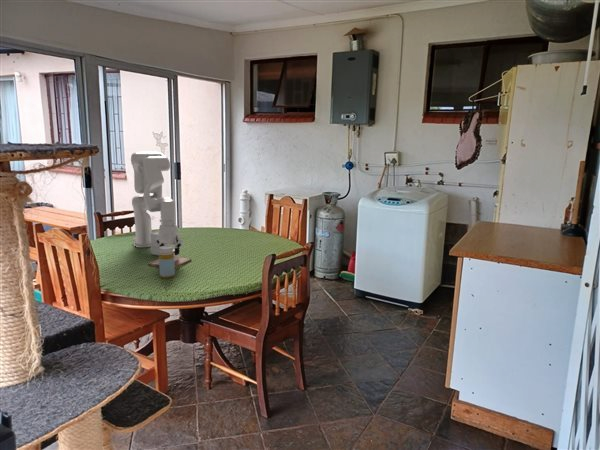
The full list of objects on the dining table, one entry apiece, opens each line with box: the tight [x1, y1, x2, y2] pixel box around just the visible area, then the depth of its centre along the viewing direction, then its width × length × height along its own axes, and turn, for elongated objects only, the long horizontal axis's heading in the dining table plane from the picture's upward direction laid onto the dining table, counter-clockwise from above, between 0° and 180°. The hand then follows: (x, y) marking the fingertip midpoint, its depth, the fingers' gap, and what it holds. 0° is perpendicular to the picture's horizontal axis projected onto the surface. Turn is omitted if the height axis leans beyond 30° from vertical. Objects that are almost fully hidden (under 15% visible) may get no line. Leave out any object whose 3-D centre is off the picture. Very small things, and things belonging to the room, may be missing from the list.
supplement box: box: [150, 230, 170, 256], centre depth 244 cm, size 7×7×13 cm
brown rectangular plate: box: [148, 256, 192, 269], centre depth 227 cm, size 16×16×5 cm
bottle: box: [158, 245, 176, 279], centre depth 206 cm, size 7×7×15 cm
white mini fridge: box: [173, 247, 180, 262], centre depth 227 cm, size 6×7×6 cm
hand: (169, 253), depth 227 cm, fingers open, 9 cm apart
